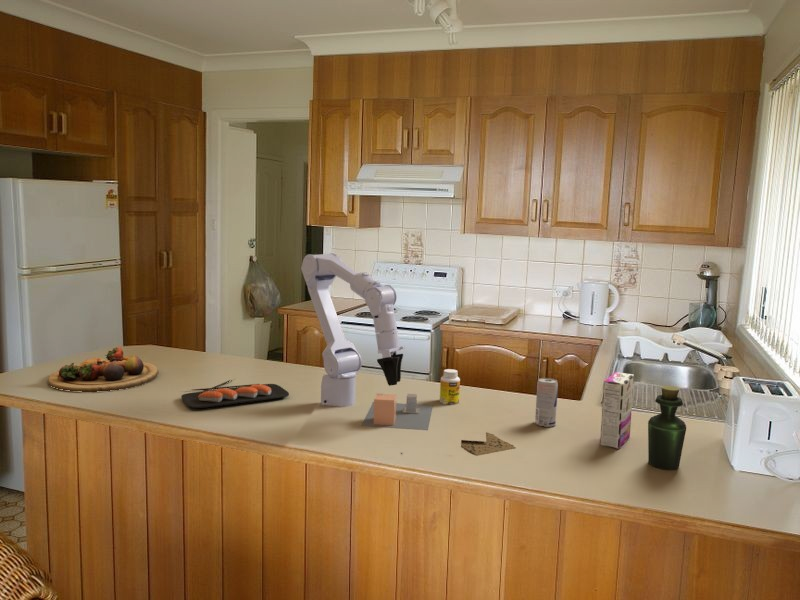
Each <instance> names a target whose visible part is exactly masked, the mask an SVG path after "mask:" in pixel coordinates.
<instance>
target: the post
mask: <svg viewBox="0 0 800 600" xmlns="http://www.w3.org/2000/svg"><path fill="white" fill-rule="evenodd" d="M417 402H418V394H416V393H407V395H406V403H405V404H406V407H404V410H403V413H407V414H419V411H420V408H417V405H418V403H417Z"/></svg>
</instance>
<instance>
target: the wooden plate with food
mask: <svg viewBox="0 0 800 600" xmlns="http://www.w3.org/2000/svg"><path fill="white" fill-rule="evenodd" d="M104 356H106V357H105V358H101V357H89V358H87V359H85V360H84V361H82V362H81V363H79V364H75V362H71V364H69V365H68V364H65V365H63V366H62V367H61V368H59V369H58V370H56V371H54V372H53V373H51V374H50V375H49V377H48V378H47V384H48V386H49V385H50V386H52V387H55V388H58V389H63V390H70V391H82V392H92V393H98V392H97V391H108V392H111V391H110V390H117V391H120V390H119V389H123V390H127V389H126V388H128V389H132V388H131V387H133V388H136V387H135V386H137V387H140V386H143V385H146V384H147V383H151V382H152V381H153V380H155V379H156V378H157V377H158V375H159V369H158V367H157V366H155V365H154V364H152V363H150V362H147V361H146V362H145V361H143V360H142V359H141V358H140V357H139V356H137V355H135V354H132V355H131V356H129V355H127V356H124V351H123V349H122V348H121V347H119V346H118V347H116V346H115V347H113V348H112V350H108V351H107V354H105V355H104ZM145 383H146V384H145ZM142 384H143V385H142ZM139 385H140V386H139ZM50 386H49V387H50ZM52 387H51V388H52Z"/></svg>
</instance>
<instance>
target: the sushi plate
mask: <svg viewBox="0 0 800 600" xmlns="http://www.w3.org/2000/svg"><path fill="white" fill-rule="evenodd" d="M230 380H231V379H230ZM230 380H227V381H225V382H222V383H220V384H218V385H215V386H212V387H207V388H205V387H204V388H194V389H192V390H204V391H193V392H188V393H187V392H186V393H184V394H182V395H181V396H180V398H181V400H182V401H183V403H184V404H185V405H186V406H188V407H189V408H191V409H204V408H205V409H207V408H214V407H215V406H216V407H224V406H230V405H238V403H239V404H246V402H247V403H253V402H263V401H267V400H268V401H270V400H274V399H280V398H287V397H288V396H290V392H288V391H287V390H286V389H285V388H284V387H282V386H281V385H278V384H276V383H265V384H260V383H252V384H241V385H231V386H225V385H227V384H228V383H227V382H229V381H230ZM226 383H227V384H226ZM212 389H213V390H212ZM223 405H224V406H223Z"/></svg>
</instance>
